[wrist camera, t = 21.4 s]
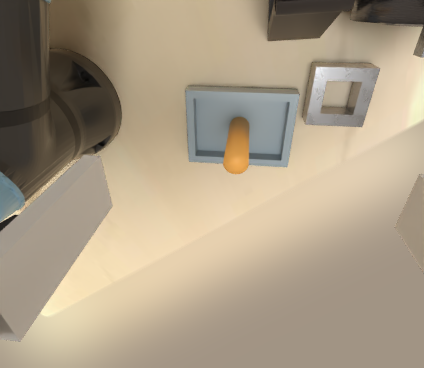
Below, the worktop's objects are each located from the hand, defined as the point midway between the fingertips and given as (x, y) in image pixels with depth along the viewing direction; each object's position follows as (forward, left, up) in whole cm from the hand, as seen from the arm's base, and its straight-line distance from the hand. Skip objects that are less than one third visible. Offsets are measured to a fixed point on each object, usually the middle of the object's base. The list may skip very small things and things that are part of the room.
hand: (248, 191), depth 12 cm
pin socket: (+11, -3, -29) cm, 31 cm away
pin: (-1, -8, -28) cm, 29 cm away
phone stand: (+4, +8, -29) cm, 30 cm away
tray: (-1, -8, -29) cm, 30 cm away
